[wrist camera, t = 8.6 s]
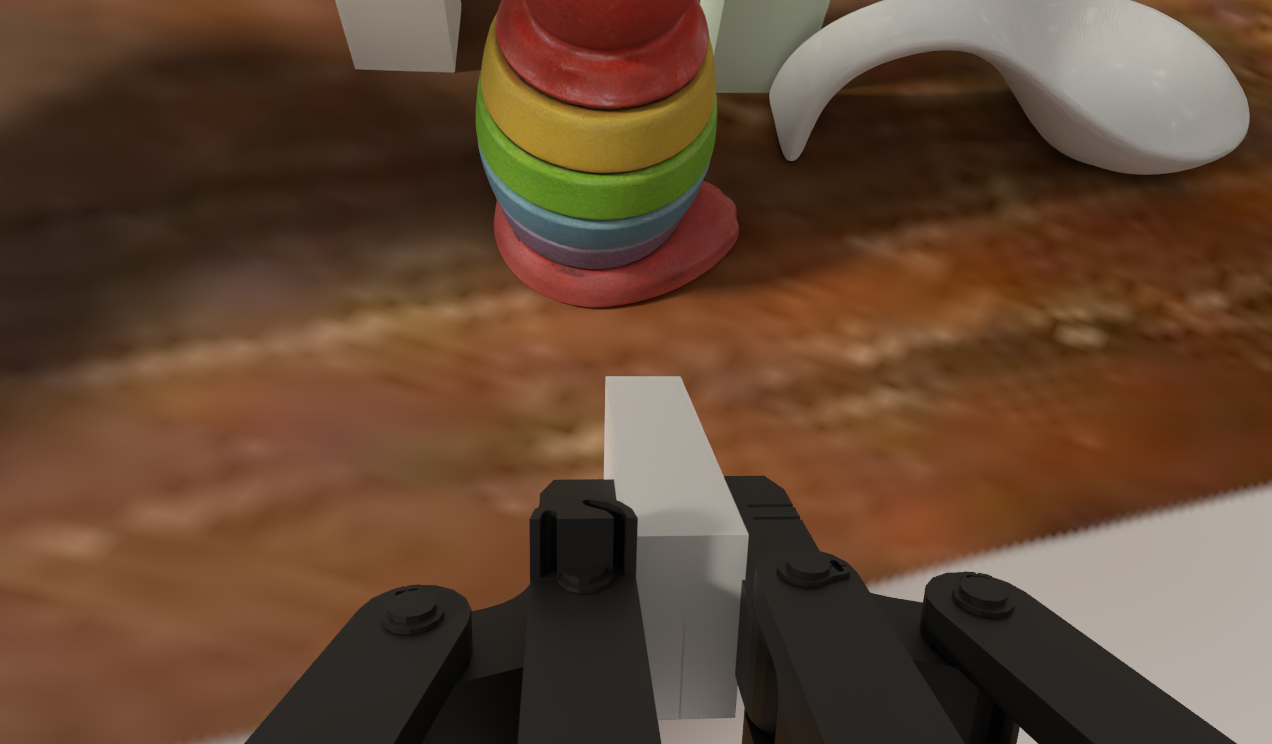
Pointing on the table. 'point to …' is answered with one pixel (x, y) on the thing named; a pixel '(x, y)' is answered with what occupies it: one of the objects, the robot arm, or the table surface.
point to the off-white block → (402, 34)
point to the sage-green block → (757, 38)
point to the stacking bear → (602, 147)
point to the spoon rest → (1044, 75)
